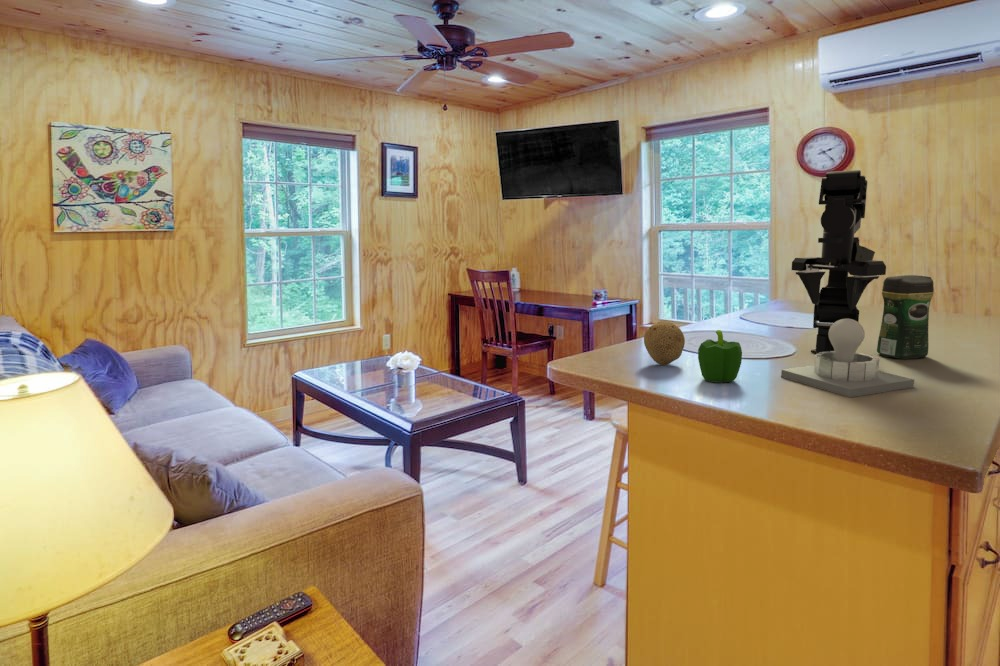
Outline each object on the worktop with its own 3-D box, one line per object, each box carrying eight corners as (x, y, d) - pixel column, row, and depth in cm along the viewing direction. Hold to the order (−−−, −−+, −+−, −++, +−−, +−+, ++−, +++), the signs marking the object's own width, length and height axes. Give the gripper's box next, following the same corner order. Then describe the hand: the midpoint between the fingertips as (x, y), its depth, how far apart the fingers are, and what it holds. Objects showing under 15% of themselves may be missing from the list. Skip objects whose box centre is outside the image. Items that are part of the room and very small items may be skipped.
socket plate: (840, 368, 127) (840, 361, 126) (913, 387, 112) (914, 379, 112) (781, 376, 121) (781, 369, 121) (849, 397, 107) (850, 389, 106)
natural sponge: (652, 358, 140) (653, 316, 139) (690, 362, 135) (691, 319, 134) (637, 366, 133) (638, 322, 131) (676, 371, 128) (678, 325, 126)
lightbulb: (853, 370, 119) (858, 316, 117) (866, 378, 113) (871, 321, 111) (820, 369, 120) (825, 316, 118) (831, 377, 114) (836, 321, 112)
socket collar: (842, 365, 123) (843, 349, 122) (889, 377, 113) (891, 359, 113) (802, 371, 120) (804, 354, 119) (848, 383, 110) (850, 365, 109)
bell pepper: (736, 388, 114) (739, 337, 113) (693, 382, 119) (694, 333, 117) (744, 377, 121) (746, 329, 120) (703, 373, 126) (704, 327, 124)
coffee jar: (906, 351, 141) (914, 273, 138) (934, 358, 133) (943, 276, 130) (869, 353, 140) (876, 274, 136) (895, 360, 132) (903, 277, 129)
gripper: (909, 231, 118) (901, 309, 121) (830, 231, 135) (824, 299, 138) (868, 233, 114) (861, 313, 117) (791, 232, 132) (787, 302, 135)
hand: (832, 306), depth 127 cm, fingers open, 9 cm apart
